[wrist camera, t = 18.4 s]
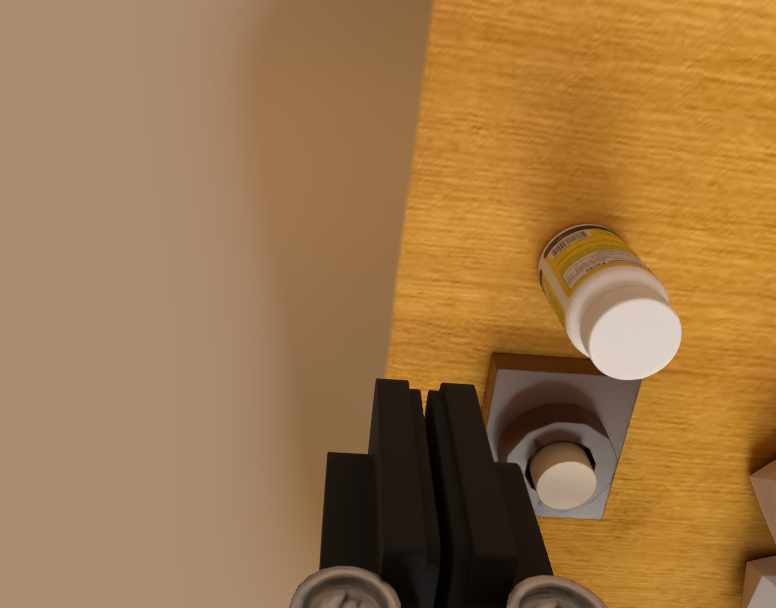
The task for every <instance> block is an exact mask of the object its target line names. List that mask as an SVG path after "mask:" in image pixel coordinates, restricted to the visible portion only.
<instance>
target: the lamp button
mask: <svg viewBox="0 0 776 608" xmlns="http://www.w3.org/2000/svg"><path fill="white" fill-rule="evenodd" d="M530 473H531V476H532V480H533V483H534V486H535V489H536V492H537V495H538V497H539V499H540V500H541V501H542V502H543V503H544V504H546V505H547V506H549V507H552V508H555V509H570V508H574V507H577V506H579V505H581V504H583V503H585V502H586V501H587V500H588V499H589V498H590V497H591V496H592V495H593V493H594V491H595V489H596V485H597V479H596V475H595V473H594V471H593V468H592V466H591V464H590V462H589V459H588V457H587V455H586V453H585V451H584V450H583V449H582V448H581V447H579V446H578V445H576V444H573V443H570V442H555V443H551V444H548V445H546V446H544V447H542V448H541V449H540V450H539V451H538V452H537V453H536V454H535V455H534V456H533V458H532V460H531V463H530Z"/></svg>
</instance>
